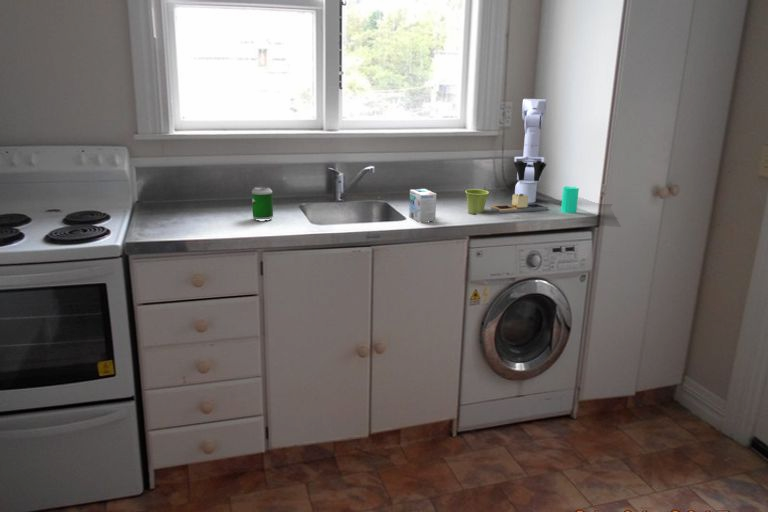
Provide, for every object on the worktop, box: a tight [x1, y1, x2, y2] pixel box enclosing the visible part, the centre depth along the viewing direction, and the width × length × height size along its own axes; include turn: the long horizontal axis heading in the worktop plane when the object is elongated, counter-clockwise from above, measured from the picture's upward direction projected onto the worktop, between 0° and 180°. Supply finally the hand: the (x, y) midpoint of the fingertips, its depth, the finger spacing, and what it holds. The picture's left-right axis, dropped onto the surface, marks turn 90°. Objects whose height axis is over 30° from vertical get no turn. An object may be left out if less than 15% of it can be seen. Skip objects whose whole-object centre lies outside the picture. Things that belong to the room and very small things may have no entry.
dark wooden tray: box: [490, 203, 549, 214], centre depth 267 cm, size 7×22×2 cm, turn 109°
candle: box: [560, 185, 580, 214], centre depth 264 cm, size 6×6×12 cm
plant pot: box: [464, 188, 490, 215], centre depth 263 cm, size 9×9×9 cm
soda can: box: [251, 186, 274, 220], centre depth 246 cm, size 8×8×12 cm
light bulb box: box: [408, 188, 437, 223], centre depth 251 cm, size 11×7×11 cm, turn 22°
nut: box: [511, 193, 529, 209], centre depth 266 cm, size 4×4×6 cm
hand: (528, 180), depth 259 cm, fingers open, 7 cm apart
